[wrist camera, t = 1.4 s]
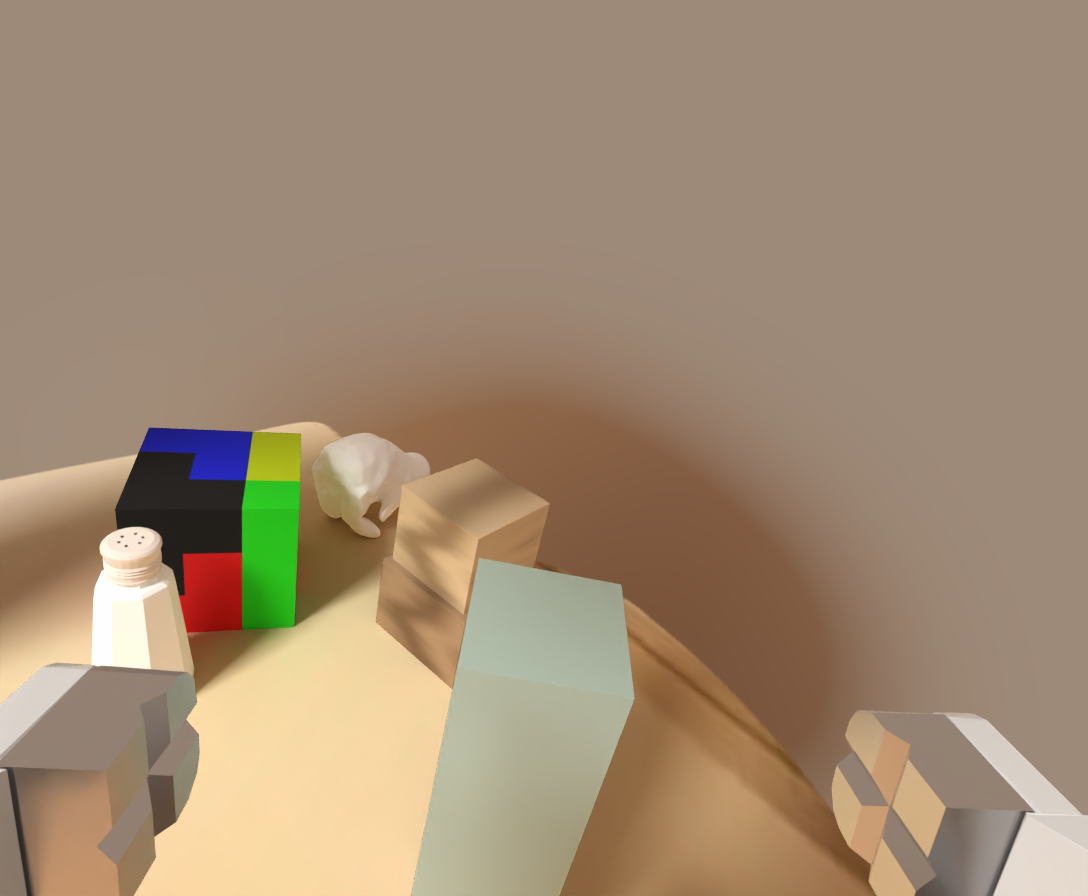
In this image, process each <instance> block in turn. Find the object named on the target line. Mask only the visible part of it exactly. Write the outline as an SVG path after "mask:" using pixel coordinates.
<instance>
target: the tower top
mask: <svg viewBox="0 0 1088 896" xmlns="http://www.w3.org/2000/svg"><path fill="white" fill-rule="evenodd" d="M549 505H550V503H548V502H547V501H545V500H544V499H542V498H540V497H538V496H537V495H535V494H534V493H532V492H531V491H529V490H528V489H526V488H524V487H523V486H521V485H519V484H518V483H516V482H515V481H513V480H511V479H510V478H508V477H506V476H505V475H503V474H502V473H500V472H498V471H497V470H495V469H494V468H492V467H490V466H489V465H487V464H485V463H484V462H482V461H481V460H479V459H477V458H475V459H473V460H470V461H467V462H465V463H462V464H459V465H456V466H454V467H451V468H448V469H445V470H443V471H440V472H438V473H435V474H432V475H429V476H426V477H424V478H421V479H418V480H415V481H413V482H410V483H407V484H404V485H402V489H401V497H400V505H399V513H398V520H397V528H396V536H395V544H394V552H393V559H394V560H395V561H396V562H398V563H399V564H400V565H401V566H403V567H404V568H405V569H406V570H408V571H409V572H410V573H411V574H413V575H414V576H415V577H417V578H418V579H419V580H420V581H422V582H423V583H424V584H425V585H427V586H428V587H429V588H430V589H432V590H433V591H434V592H435V593H437V594H438V595H439V596H440V597H442V598H443V599H444V600H446V601H447V602H448V603H449V604H451V605H452V606H453V607H454V608H456V609H457V610H458V611H459V612H461V613H462V614H463V615H464V614H466V613H467V612H468V611H469V606H470V601H471V596H472V591H473V586H474V581H475V576H476V571H477V566H478V561H479V558H482V559H488V560H493V561H499V562H504V563H509V564H515V565H520V566H525V567H531V568H534V565H535V561H536V557H537V553H538V549H539V545H540V541H541V537H542V533H543V529H544V525H545V521H546V517H547V513H548V509H549Z"/></svg>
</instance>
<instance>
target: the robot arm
mask: <svg viewBox="0 0 1088 896" xmlns="http://www.w3.org/2000/svg"><path fill="white" fill-rule="evenodd" d="M196 703H197V698H196V688H195V679H194V678H193V677H192V676H191V675H190V674H189V673H188V672H180V671H167V670H154V669H141V668H128V667H115V666H102V665H101V666H95V665H84V664H68V663H54V664H51V665H47V666H44V667H42V668H40V669H39V670H38V671H37V672H36V673H35V674H34V675H33V676H32V677H30V678H29V679H28V680H27V681H26V682H25V683H24V684H23V685H22V686H20V687H19V688H18V689H17V690H16V691H15V692H14V693H13V694H12V695H11V696H9V697H8V698H7V699H6V700H5V701H4V702H3V703H2V704H1V705H0V896H134V894H135V893H136V891H137V889H138V887H139V886H140V884H141V882H142V880H143V879H144V877H145V875H146V873H147V872H148V870H149V868H150V867H151V865H152V863H153V861H154V860H155V858H156V854H155V841H154V837H155V836H156V835H158V834H159V833H161V832H162V831H164V830H165V829H166V828H168V827H169V826H171V825H172V824H174V823H175V822H176V821H177V819H178V817H179V816H180V814H181V812H182V810H183V808H184V806H185V805H186V803H187V801H188V799H189V796H190V792H191V789H192V786H193V783H194V780H195V777H196V774H197V768H198V760H199V734H198V733H197V732H196V731H195V729H194V728H193V727H192V726H191V725H190V724H189V723H188V721H187V720H186V718H187V717H188V715H189V714H190V712H191V711H192V709H193V708H194V706H195V705H196ZM845 737H846V739H847V741H848V743H849V745H850V747H851V749H852V752H851V753H850V754H848V755H847V756H846V757H845V758H844V759H843V760H842V761H841V762H840V763H838V764H837V766H836V770H835V774H834V779H833V783H832V787H831V788H832V800H833V811H834V814H835V817H836V820H837V823H838V827H839V829H840V831H841V833H842V835H843V837H844V839H845V840H846V842H847V844H848V846H849V848H851V849H852V850H853V851H855V852H856V853H857V854H858V855H860V856H861V857H862V858H863V859H865V860H866V861H867V862H868V863H870V864H871V868H870V875H869V883H870V885H871V887H872V888H873V890H874V892H875V894H876V896H1088V816H1084V815H1082V814H1081V813H1080V812H1079V811H1078V810H1077V809H1076V808H1075V807H1074V806H1073V805H1072V804H1071V803H1070V802H1069V801H1068V800H1067V799H1066V798H1065V797H1064V796H1063V795H1062V794H1061V793H1059V792H1058V790H1057V789H1056V788H1054V787H1053V786H1052V785H1051V784H1050V783H1049V782H1048V781H1047V780H1046V779H1045V778H1044V777H1043V776H1042V775H1041V774H1040V773H1039V772H1038V771H1037V770H1036V769H1035V768H1034V767H1033V766H1032V765H1031V764H1030V763H1029V762H1028V761H1027V760H1026V759H1025V758H1024V757H1023V756H1022V755H1021V754H1020V753H1019V752H1018V751H1017V750H1016V749H1015V748H1014V747H1013V746H1012V745H1011V744H1010V743H1009V742H1008V741H1007V740H1006V739H1005V738H1004V737H1003V736H1002V735H1001V734H1000V733H999V732H998V731H997V730H996V729H995V728H994V727H993V726H992V725H991V724H990V723H989V722H988V721H987V720H985V719H983V718H981V717H979V716H977V715H975V714H973V713H937V712H935V713H933V714H927V713H909V712H908V713H907V712H888V711H868V710H858V711H857V712H856V713H855V714H854V716H853V717H852V718H851V719H850V722H849V725H848V728H847V731H846V735H845Z"/></svg>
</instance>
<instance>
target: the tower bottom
mask: <svg viewBox="0 0 1088 896" xmlns="http://www.w3.org/2000/svg"><path fill="white" fill-rule="evenodd" d="M467 616H468V612H467V613H466V614H464V615H463V614H462V613H461V612H459V611H458V610H457V609H456V608H454V607H453V606H452V605H451V604H449V603H448V602H447V601H446V600H444V599H443V598H442V597H440V596H439V595H438V594H437V593H435V592H434V591H433V590H432V589H430V588H429V587H428V586H427V585H425V584H424V583H423V582H422V581H420V580H419V579H418V578H417V577H415V576H414V575H413V574H411V573H410V572H409V571H408V570H406V569H405V568H404V567H403V566H401V565H400V564H399V563H398V562H396V561H395V560H394V559H393V554H391V555H389V556H387V557H385V558H383V567H382V575H381V583H380V592H379V600H378V608H377V616H376V623H377V624H379V625H380V626H381V627H382V628H383V629H384V630H385V631H387V632H388V633H389V634H390V635H391V636H392V637H393V638H395V639H396V640H397V641H398V642H399V643H400V644H401V645H403V646H404V647H405V648H406V649H407V650H408V651H409V652H411V653H412V654H413V655H414V656H415V657H416V658H417V659H419V660H420V661H421V662H422V663H423V664H424V665H425V666H427V667H428V668H429V669H430V670H431V671H432V672H433V673H435V674H436V675H437V676H438V677H439V678H440V679H441V680H443V681H444V682H445V683H446V684H447V685H448V686H449V687H451V688H453V685H454V680H455V675H456V670H457V665H458V660H459V655H460V650H461V645H462V640H463V635H464V630H465V625H466V620H467Z"/></svg>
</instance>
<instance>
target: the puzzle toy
mask: <svg viewBox="0 0 1088 896" xmlns="http://www.w3.org/2000/svg"><path fill="white" fill-rule="evenodd" d="M300 458H301V434H292V433H268V432H243V431H242V432H241V431H217V430H194V429H170V428H149V429H148V432H147V434H146V436H145V439H144V441H143V444H142V446H141V448H140V451H139V453H138V456H137V458H136V460H135V463H134V465H133V468H132V470H131V472H130V475H129V477H128V480H127V482H126V484H125V487H124V489H123V492H122V494H121V496H120V499H119V501H118V504H117V506H116V508H115V511H116V521H117V530H120V529H123V528H129V527H144V528H149V529H152V530H154V531H155V532H157V533H158V534H159V535H160V536H161V537H162V546H161V553H162V563H163V564H165V565H166V566H168V567H169V568H171V569H172V570H173V573H174V577H175V580H176V585H177V590H178V594H179V599H180V604H181V608H182V613H183V618H184V623H185V627H186V632H187V633H192V632H210V631H228V630H245V629H263V628H281V627H294V620H295V598H296V576H297V555H298V533H299V512H300Z"/></svg>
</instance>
